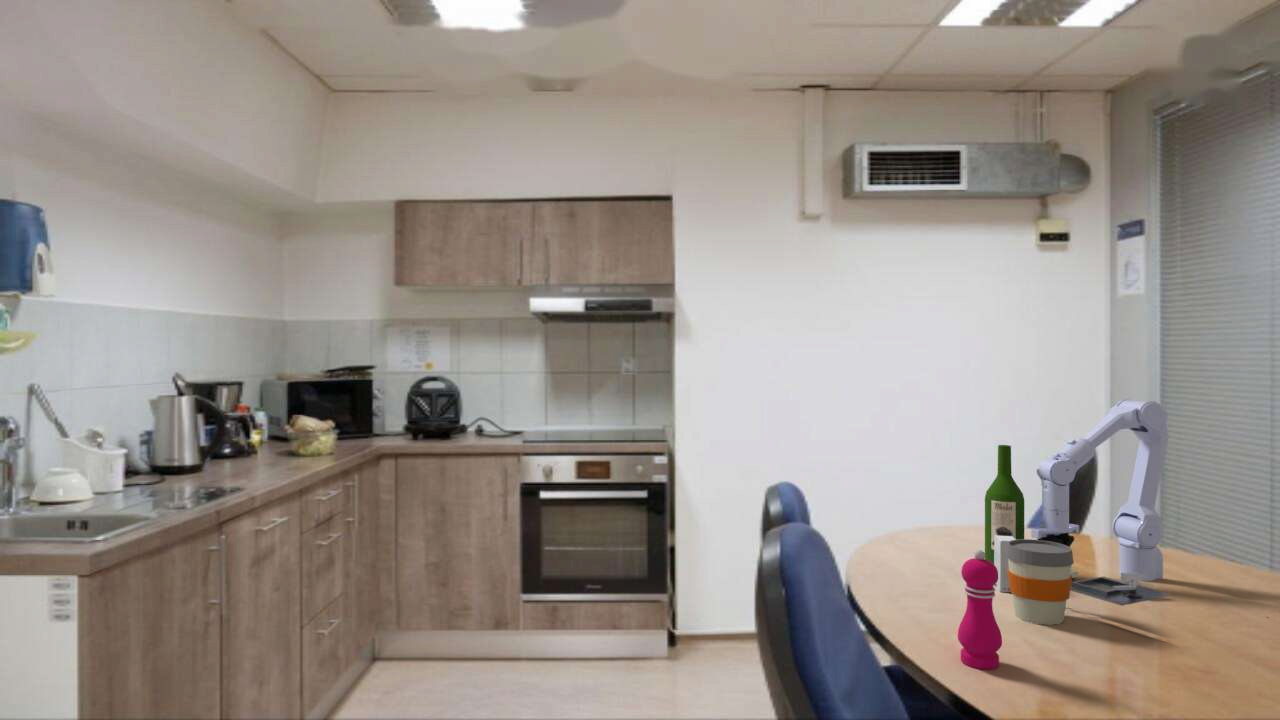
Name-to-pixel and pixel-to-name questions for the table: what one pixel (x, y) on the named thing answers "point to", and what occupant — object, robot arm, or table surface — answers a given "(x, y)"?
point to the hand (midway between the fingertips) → (1055, 565)
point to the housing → (1114, 591)
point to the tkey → (1130, 581)
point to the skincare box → (1002, 561)
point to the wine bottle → (1003, 505)
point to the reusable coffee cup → (1039, 579)
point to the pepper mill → (979, 615)
